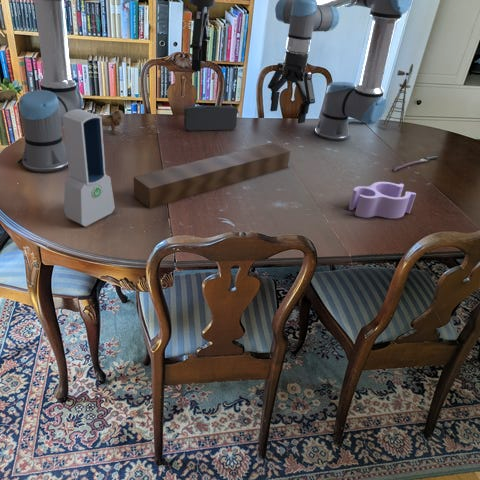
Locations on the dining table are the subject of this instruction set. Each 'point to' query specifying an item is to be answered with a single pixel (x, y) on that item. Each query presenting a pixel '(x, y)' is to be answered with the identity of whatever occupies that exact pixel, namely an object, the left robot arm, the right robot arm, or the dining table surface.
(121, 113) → the lion figurine
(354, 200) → the clip
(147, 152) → the dining table surface
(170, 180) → the wide beam
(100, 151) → the electronic device
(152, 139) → the dining table surface
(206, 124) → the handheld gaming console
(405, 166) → the sword
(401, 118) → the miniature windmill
